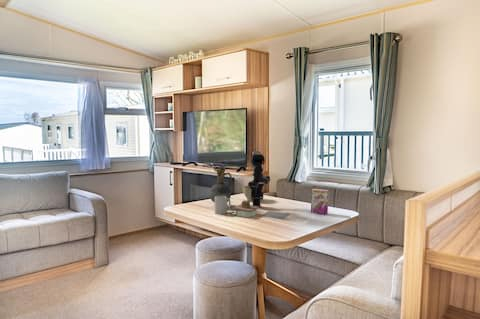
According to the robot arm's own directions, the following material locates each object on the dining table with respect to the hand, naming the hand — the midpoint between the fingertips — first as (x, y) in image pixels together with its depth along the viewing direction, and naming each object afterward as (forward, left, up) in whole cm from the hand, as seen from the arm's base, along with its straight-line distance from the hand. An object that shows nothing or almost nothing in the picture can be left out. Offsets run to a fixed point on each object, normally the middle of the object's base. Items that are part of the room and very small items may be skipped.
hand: (257, 194), depth 238 cm
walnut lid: (+12, -3, -8) cm, 15 cm away
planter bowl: (-34, -19, -12) cm, 41 cm away
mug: (+13, -20, -12) cm, 27 cm away
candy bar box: (-17, +39, -12) cm, 44 cm away
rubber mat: (+4, +15, -12) cm, 20 cm away
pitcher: (-5, -31, -12) cm, 34 cm away
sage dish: (+12, -3, -12) cm, 17 cm away
